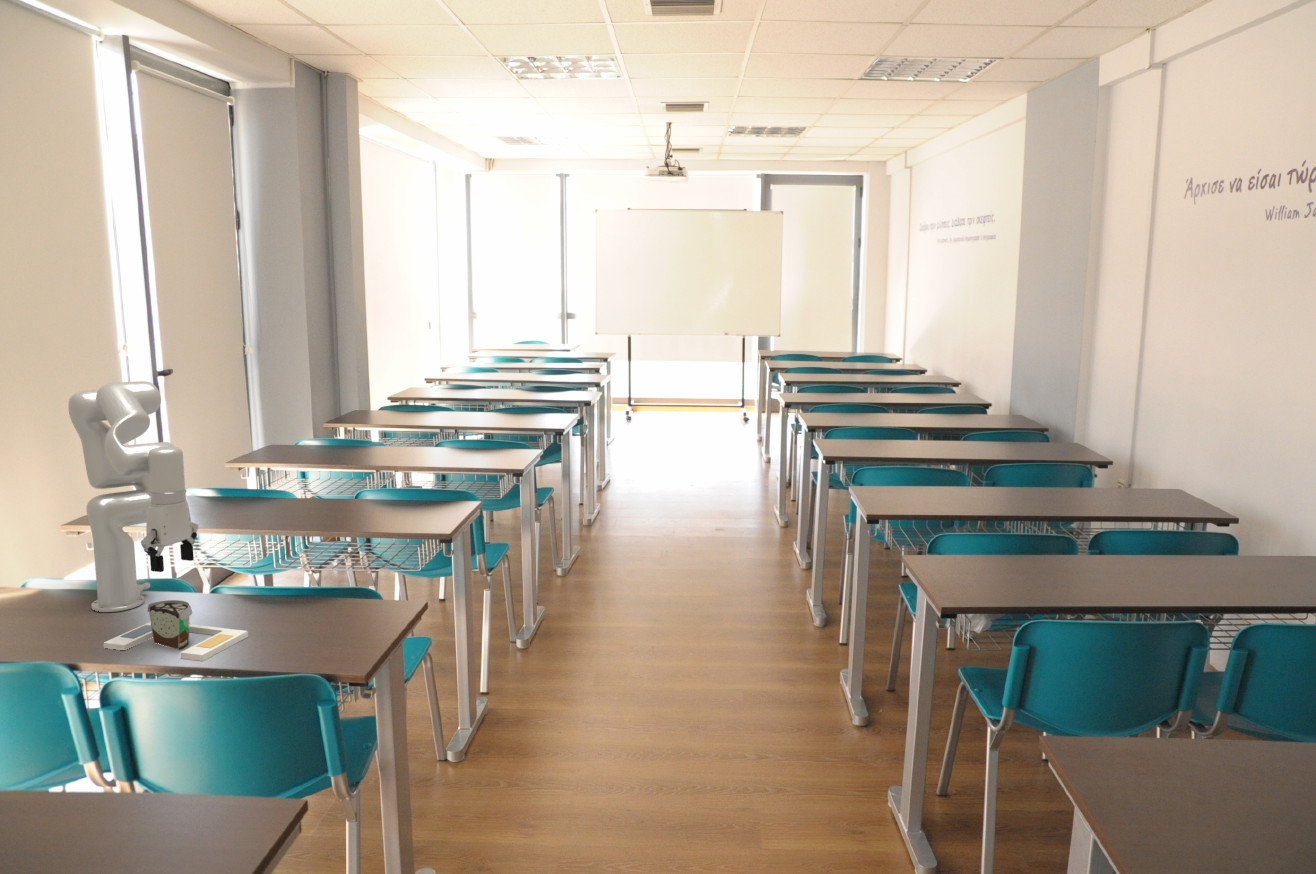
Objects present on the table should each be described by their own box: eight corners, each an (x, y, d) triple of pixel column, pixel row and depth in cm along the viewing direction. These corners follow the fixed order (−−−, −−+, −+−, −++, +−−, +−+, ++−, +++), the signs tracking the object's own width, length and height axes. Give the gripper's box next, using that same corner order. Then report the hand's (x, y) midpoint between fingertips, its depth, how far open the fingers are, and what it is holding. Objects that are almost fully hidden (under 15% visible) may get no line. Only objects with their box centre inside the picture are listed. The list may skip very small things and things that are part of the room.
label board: (154, 625, 229) (154, 619, 229) (248, 636, 223) (247, 630, 223) (103, 648, 214) (103, 641, 214) (202, 661, 208) (202, 654, 208)
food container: (205, 642, 219) (203, 604, 217) (183, 651, 213) (180, 612, 212) (172, 634, 224) (169, 596, 222) (149, 642, 218) (146, 603, 217)
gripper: (181, 489, 222) (185, 555, 225) (126, 504, 205) (131, 574, 208) (207, 491, 221) (211, 557, 223) (153, 506, 204) (158, 577, 206)
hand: (172, 565), depth 215 cm, fingers open, 9 cm apart
